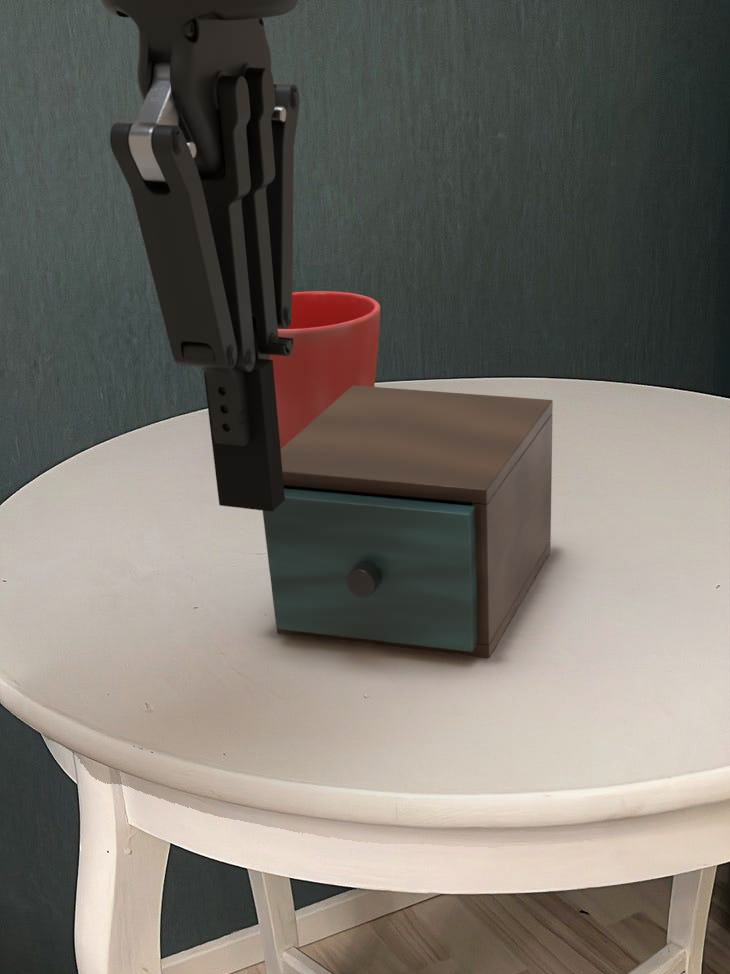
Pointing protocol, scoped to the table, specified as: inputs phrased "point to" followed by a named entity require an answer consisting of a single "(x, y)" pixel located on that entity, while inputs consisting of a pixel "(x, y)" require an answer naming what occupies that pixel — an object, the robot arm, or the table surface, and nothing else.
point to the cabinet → (444, 478)
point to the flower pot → (324, 355)
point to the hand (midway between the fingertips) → (252, 502)
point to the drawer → (374, 567)
